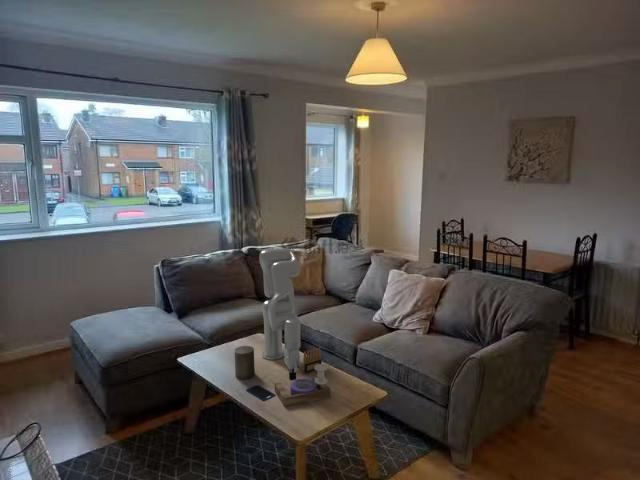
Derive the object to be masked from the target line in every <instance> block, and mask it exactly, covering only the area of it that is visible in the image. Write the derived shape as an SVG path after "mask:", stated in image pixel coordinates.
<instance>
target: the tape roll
mask: <svg viewBox="0 0 640 480" xmlns="http://www.w3.org/2000/svg"><path fill="white" fill-rule="evenodd" d="M316 390H317V389H316V383H315V382H314V381H313V379H310V378H309V379H308V378H296V380H292V381H291V383H290V396H292V395H296V394H301V393H306V392H311V391H316Z"/></svg>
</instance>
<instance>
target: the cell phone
mask: <svg viewBox="0 0 640 480" xmlns="http://www.w3.org/2000/svg"><path fill="white" fill-rule="evenodd" d="M245 392H247V393H248V394H251V396H254V397H255V398H257V399H259V400H260V401H262V402H265V401H267V400H269V399H272V398H274V397H276V396H277V394H276V393H275V392H274V393H273V392H272V391H270V390H268V389H267V388H264V387H263V386H262V385H259V384H256V385H253V386H251V387H248V388H246V389H245Z"/></svg>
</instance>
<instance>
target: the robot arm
mask: <svg viewBox="0 0 640 480" xmlns="http://www.w3.org/2000/svg"><path fill="white" fill-rule="evenodd" d="M258 259H259V260H258V261H259V265H260V267H261V269H262V275H263V292H264V296H265V297H266V298H271V299H268V300H265V301H264V302H263V303H262V306H261V311H262V316H263V327H264V328H263V331H264V333H263V335H264V337H263V339H264V350H263V351H262V353H261V357H262V358H264V359H265V360H270V361H274V360H275V361H276V360H280V359H283V358H284V359H283V360H284V363H285V365H286V366H287V368H288V380H289V381H291V382H292V381H295V380H297V373H298V372H299V371H298V369H300V368H301V359H300V358H301V357H300V348H301V321H300V319H299V318H300V317H299V316H298V314H296V312H295V289H294V288H295V287H294V283H293V281H292V280H291V279H290V278H292V277H293V278H294V277H295V278H296V277H298V276H299V275H300V272H301V267H300V262H299V261H298V259H297V257H296V254H295V252H294V251H293V250H292V249H291V248H285V247H284V248H272V249H271V248H270V249H266V250H262V251H260V253H259V257H258ZM283 331H284V350H283Z"/></svg>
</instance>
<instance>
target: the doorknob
mask: <svg viewBox="0 0 640 480" xmlns="http://www.w3.org/2000/svg"><path fill="white" fill-rule="evenodd" d="M314 369H315V370H316V371H317V372H316V373H317V374H316V376H317V378H316V379H315V380H314V382H315V383H316V384H317V385H325V384H326V385H328V384H327V383H328V379H327V378H325V371H327V370H328V365H327V364H324V363H321V364H317V365H315V367H314Z"/></svg>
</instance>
